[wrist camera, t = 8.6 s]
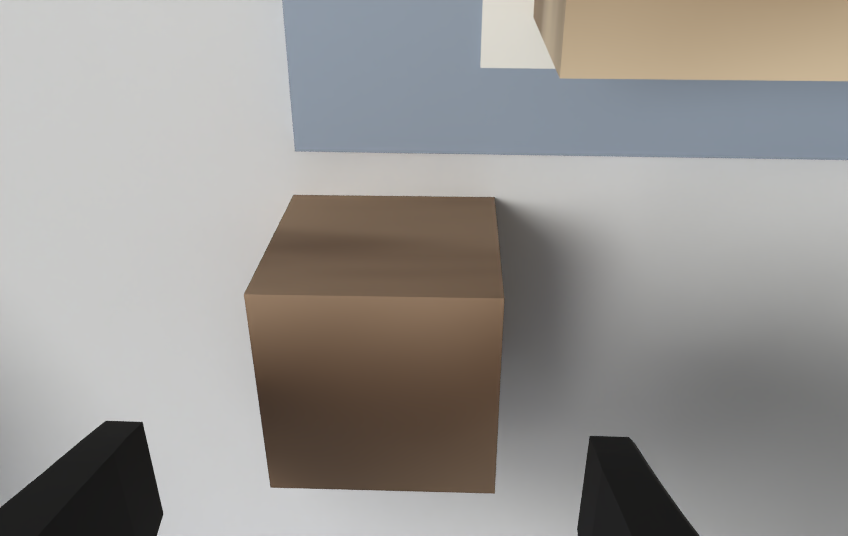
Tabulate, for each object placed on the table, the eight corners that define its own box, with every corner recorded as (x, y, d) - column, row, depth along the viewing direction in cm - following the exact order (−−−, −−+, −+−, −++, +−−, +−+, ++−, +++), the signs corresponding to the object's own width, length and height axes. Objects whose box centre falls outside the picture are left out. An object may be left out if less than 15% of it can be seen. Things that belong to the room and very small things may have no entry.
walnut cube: (487, 362, 19) (494, 493, 15) (309, 358, 19) (270, 487, 15) (494, 195, 17) (504, 298, 13) (293, 193, 17) (244, 294, 13)
